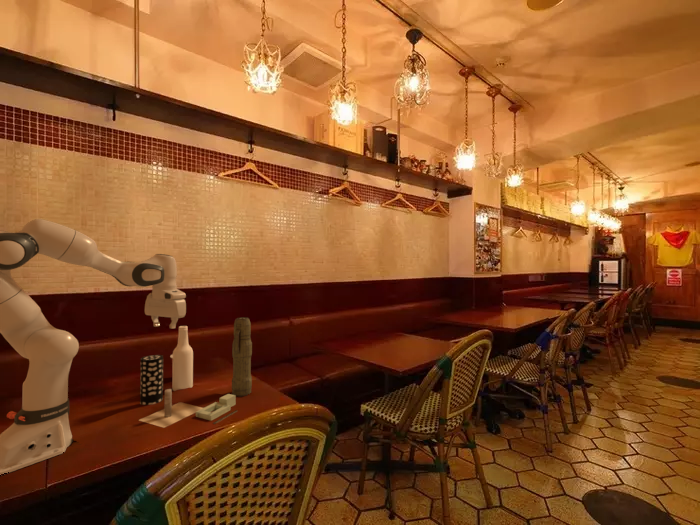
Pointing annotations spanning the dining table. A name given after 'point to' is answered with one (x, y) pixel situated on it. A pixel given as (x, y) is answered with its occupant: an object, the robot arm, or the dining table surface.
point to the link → (217, 407)
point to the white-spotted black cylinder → (151, 380)
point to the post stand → (170, 412)
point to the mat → (225, 417)
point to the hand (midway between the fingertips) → (164, 327)
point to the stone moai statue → (242, 357)
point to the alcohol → (182, 362)
